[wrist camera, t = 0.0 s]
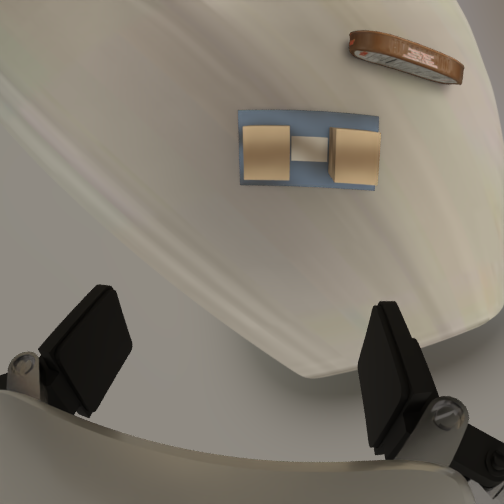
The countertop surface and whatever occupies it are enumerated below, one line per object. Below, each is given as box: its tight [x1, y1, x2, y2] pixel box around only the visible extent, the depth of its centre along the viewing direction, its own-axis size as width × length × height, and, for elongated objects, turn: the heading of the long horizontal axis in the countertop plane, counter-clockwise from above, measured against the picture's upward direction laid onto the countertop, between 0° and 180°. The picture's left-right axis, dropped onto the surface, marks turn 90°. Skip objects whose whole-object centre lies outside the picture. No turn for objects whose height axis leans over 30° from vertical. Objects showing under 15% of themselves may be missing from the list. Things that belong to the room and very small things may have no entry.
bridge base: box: [238, 110, 381, 191], centre depth 33 cm, size 10×18×7 cm, turn 91°
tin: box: [349, 30, 464, 85], centre depth 26 cm, size 15×3×8 cm, turn 84°
